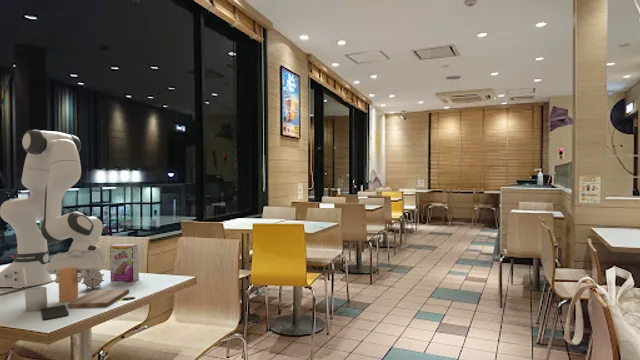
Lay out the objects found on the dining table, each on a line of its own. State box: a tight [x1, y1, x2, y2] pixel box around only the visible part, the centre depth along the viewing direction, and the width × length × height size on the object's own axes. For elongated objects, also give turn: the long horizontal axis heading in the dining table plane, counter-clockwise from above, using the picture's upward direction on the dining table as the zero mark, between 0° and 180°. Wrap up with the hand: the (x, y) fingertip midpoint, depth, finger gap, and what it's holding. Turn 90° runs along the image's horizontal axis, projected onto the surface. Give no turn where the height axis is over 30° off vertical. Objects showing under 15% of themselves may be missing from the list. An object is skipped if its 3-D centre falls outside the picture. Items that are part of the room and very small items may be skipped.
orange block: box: [58, 267, 79, 302], centre depth 158 cm, size 5×5×12 cm
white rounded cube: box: [24, 286, 48, 313], centre depth 146 cm, size 6×6×7 cm
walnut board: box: [67, 288, 130, 309], centre depth 156 cm, size 14×18×2 cm
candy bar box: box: [109, 243, 140, 283], centre depth 186 cm, size 11×5×16 cm, turn 84°
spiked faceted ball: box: [80, 271, 105, 290], centre depth 174 cm, size 9×8×10 cm
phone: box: [40, 304, 70, 321], centre depth 142 cm, size 7×1×15 cm
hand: (67, 282), depth 157 cm, fingers open, 6 cm apart
